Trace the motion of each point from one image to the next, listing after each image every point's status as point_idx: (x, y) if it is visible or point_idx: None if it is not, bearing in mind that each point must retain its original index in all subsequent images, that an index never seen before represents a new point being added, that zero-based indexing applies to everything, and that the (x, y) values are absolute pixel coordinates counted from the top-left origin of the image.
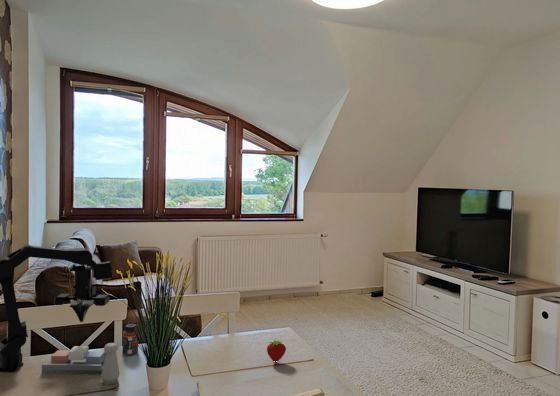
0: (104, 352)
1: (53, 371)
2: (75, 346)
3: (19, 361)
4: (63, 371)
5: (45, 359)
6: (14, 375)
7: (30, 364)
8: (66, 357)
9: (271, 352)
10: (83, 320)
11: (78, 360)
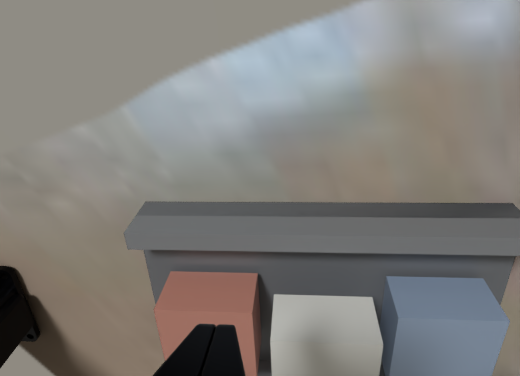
0: (503, 325)
1: None
2: (281, 346)
3: (14, 339)
4: None
5: (78, 208)
6: (70, 355)
7: (49, 265)
8: (257, 357)
9: None
10: (238, 343)
11: (308, 280)
